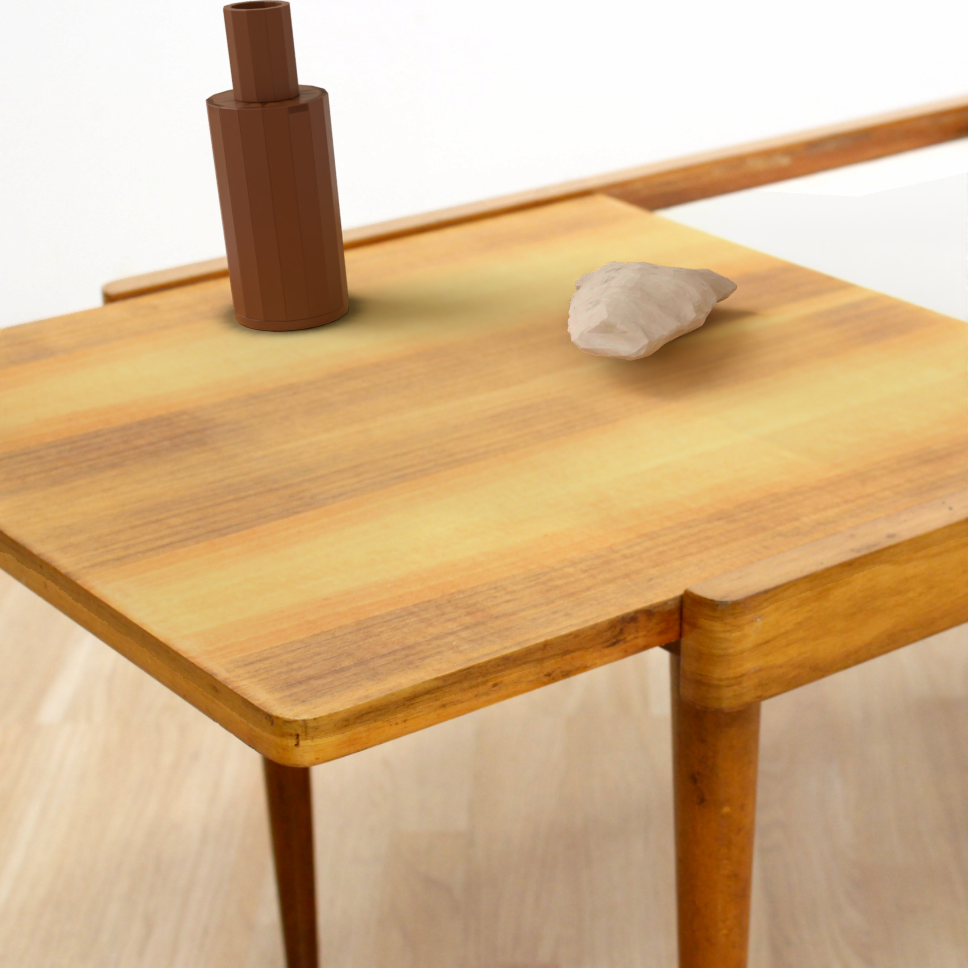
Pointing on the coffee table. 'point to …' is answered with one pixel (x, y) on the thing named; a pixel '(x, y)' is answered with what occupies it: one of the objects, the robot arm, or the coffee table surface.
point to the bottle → (276, 178)
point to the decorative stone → (641, 307)
